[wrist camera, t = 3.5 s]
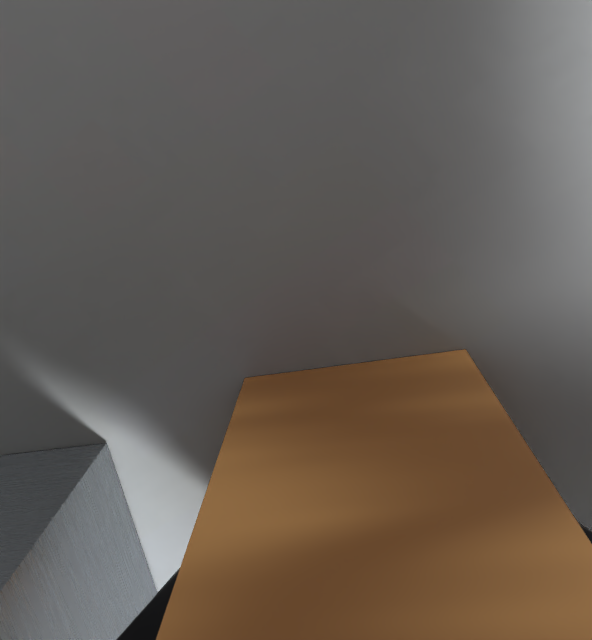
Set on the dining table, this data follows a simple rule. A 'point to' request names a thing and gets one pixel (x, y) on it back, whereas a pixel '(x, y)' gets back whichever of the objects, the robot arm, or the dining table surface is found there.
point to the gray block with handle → (68, 548)
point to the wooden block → (380, 516)
